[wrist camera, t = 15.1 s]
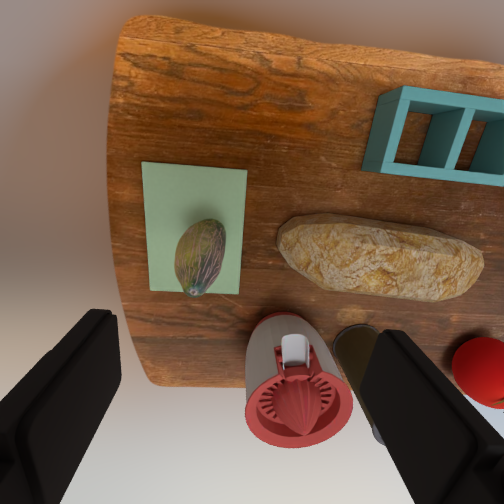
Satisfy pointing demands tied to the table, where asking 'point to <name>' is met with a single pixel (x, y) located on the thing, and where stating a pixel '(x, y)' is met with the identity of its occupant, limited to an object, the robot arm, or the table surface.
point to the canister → (357, 360)
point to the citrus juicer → (293, 384)
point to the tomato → (481, 370)
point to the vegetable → (200, 256)
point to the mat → (192, 218)
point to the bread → (379, 257)
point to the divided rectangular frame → (438, 135)
